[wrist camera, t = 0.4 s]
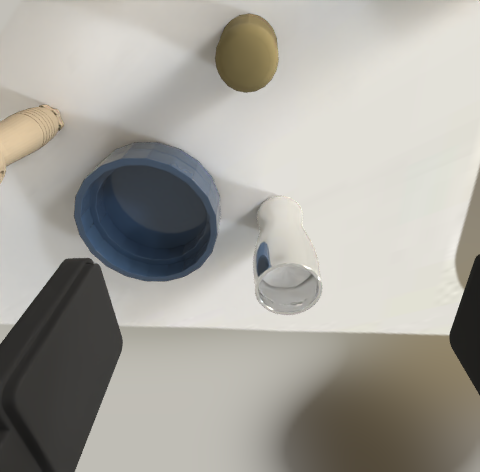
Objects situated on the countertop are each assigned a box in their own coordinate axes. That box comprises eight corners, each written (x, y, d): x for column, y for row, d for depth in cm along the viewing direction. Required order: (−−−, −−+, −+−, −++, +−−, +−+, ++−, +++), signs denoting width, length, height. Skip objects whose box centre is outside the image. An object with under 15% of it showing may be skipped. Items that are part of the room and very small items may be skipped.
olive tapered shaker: (264, 87, 40) (268, 111, 31) (212, 67, 39) (199, 86, 30) (286, 27, 37) (297, 34, 28) (229, 4, 36) (221, 3, 27)
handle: (77, 102, 42) (-1, 144, 29) (66, 151, 45) (-9, 209, 32) (34, 82, 41) (-66, 117, 28) (25, 134, 44) (-68, 186, 31)
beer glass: (248, 233, 50) (246, 310, 38) (259, 187, 47) (261, 255, 34) (297, 242, 51) (312, 321, 38) (312, 198, 47) (334, 269, 34)
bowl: (79, 141, 44) (56, 158, 39) (217, 139, 44) (212, 157, 38) (108, 254, 53) (92, 281, 48) (223, 255, 52) (220, 282, 47)
